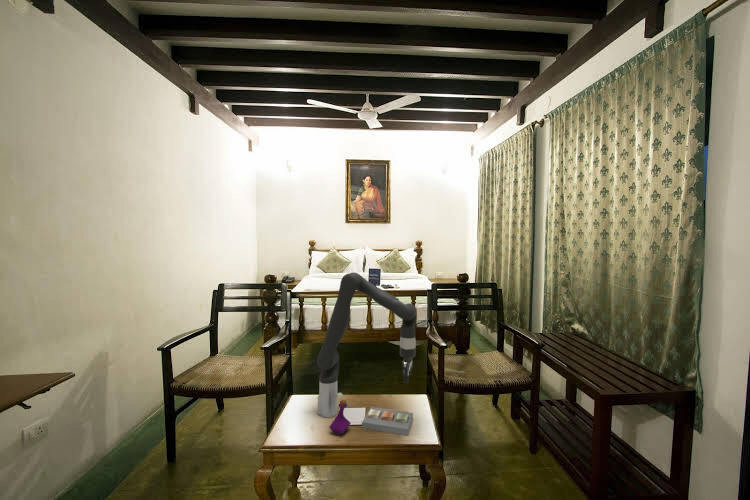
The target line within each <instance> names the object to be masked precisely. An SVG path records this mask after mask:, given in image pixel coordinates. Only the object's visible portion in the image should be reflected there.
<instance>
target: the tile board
mask: <svg viewBox="0 0 750 500" xmlns="http://www.w3.org/2000/svg"><path fill="white" fill-rule="evenodd" d="M371 409H374V410H380V411H381V415H380V417H379V419H374V418H368V413H369V412H370V410H371ZM384 411H387V412H394V418H393V421H387V420H382V415H383V413H384ZM398 413H401V414H408V421H407V423H401V422H396V417H397V415H398ZM413 420H414V412H411V411H410V412H409V411H401V410H397V409H395V410H394V409H390V408H389V409H388V408H382V407H376V406H374V407H373V406H370V408H369V409H368V411H367V413H366V414H365V416H364V418H363V420H362V421H361V429H362V430H363V429H364V430H371V431H377V432H384V433H388V434H390V433H391V434H396V435H402V436H407V437H408V435H409V433H410V430H411V426H412V423H413Z"/></svg>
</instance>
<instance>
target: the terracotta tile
mask: <svg viewBox="0 0 750 500" xmlns="http://www.w3.org/2000/svg"><path fill="white" fill-rule="evenodd" d="M393 418H394V412H387V411H384V413H383V415H382V420H387V421H393Z"/></svg>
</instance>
